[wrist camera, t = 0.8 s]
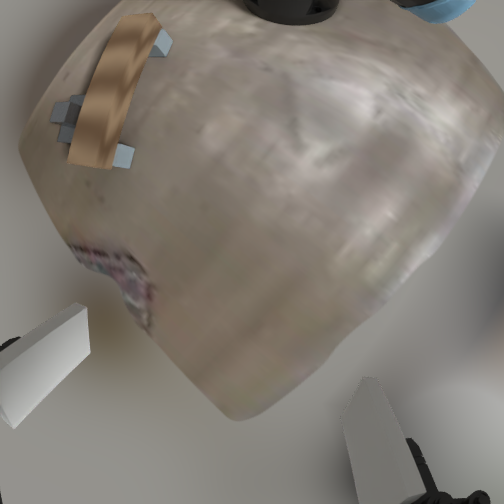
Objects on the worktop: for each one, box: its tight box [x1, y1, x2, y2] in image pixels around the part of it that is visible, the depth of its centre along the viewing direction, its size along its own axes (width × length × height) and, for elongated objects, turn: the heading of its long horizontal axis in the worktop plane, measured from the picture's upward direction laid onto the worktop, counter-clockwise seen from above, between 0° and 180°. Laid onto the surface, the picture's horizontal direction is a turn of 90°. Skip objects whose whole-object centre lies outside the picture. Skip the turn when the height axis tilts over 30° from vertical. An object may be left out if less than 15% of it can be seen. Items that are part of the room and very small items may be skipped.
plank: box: [67, 13, 162, 170], centre depth 26 cm, size 22×5×4 cm, turn 165°
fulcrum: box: [50, 95, 86, 144], centre depth 29 cm, size 8×8×7 cm
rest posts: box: [112, 29, 173, 169], centre depth 30 cm, size 21×6×4 cm, turn 165°
